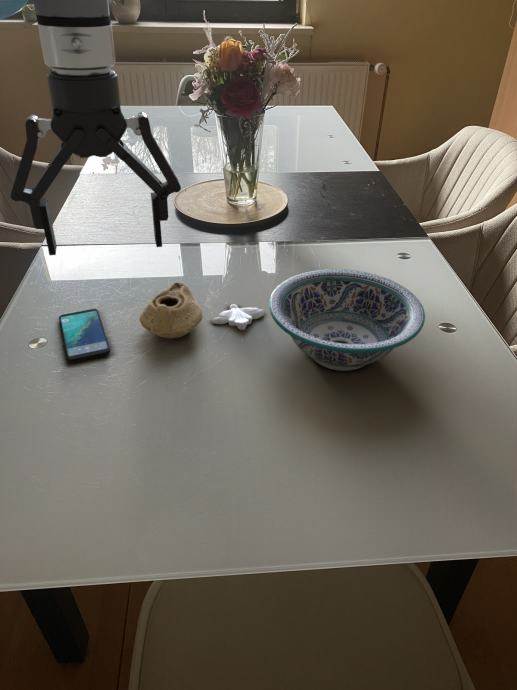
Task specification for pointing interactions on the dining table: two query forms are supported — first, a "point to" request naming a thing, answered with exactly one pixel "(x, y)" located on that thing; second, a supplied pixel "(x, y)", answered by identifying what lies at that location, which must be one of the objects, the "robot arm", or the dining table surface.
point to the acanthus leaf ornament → (238, 316)
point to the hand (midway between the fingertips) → (106, 247)
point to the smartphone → (83, 335)
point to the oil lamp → (172, 312)
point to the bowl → (346, 316)
